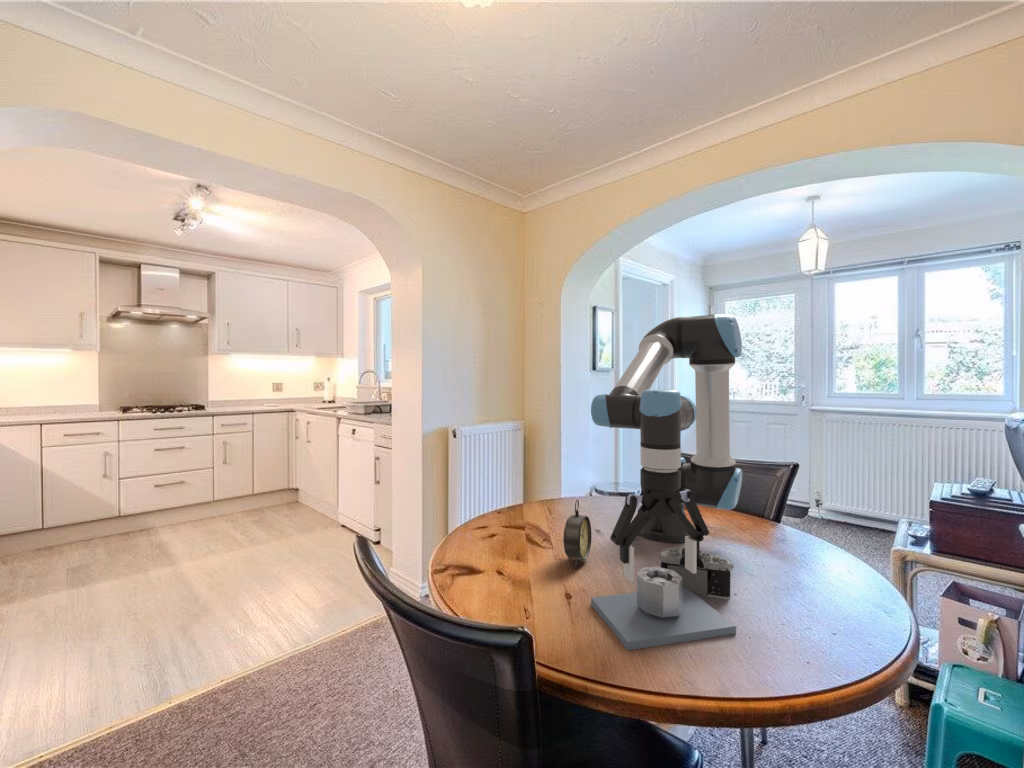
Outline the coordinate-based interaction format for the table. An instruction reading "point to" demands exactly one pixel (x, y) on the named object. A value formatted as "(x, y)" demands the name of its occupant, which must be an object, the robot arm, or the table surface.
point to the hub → (659, 592)
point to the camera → (700, 573)
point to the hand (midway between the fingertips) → (660, 574)
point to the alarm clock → (577, 537)
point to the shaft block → (660, 621)
